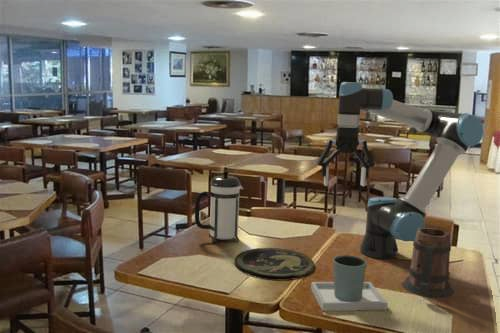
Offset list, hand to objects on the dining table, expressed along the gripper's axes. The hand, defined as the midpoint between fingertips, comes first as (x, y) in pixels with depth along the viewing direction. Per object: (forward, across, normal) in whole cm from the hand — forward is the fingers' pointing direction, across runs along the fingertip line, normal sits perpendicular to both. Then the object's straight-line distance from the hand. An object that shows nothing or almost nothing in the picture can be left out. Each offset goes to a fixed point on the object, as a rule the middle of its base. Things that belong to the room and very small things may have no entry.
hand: (344, 185), depth 179 cm
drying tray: (+31, +4, +26) cm, 41 cm away
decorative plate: (+32, +23, -5) cm, 40 cm away
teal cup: (+31, +5, +26) cm, 40 cm away
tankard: (+32, -25, +20) cm, 45 cm away
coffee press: (+32, +42, -35) cm, 63 cm away
